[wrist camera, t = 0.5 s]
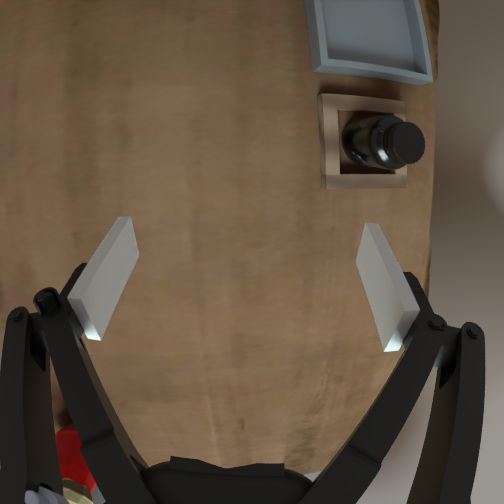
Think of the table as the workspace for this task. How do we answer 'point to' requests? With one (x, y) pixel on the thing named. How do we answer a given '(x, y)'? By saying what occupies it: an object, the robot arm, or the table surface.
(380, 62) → the bin
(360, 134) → the supplement bottle
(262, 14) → the table surface
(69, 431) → the bottle
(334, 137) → the socket collar
